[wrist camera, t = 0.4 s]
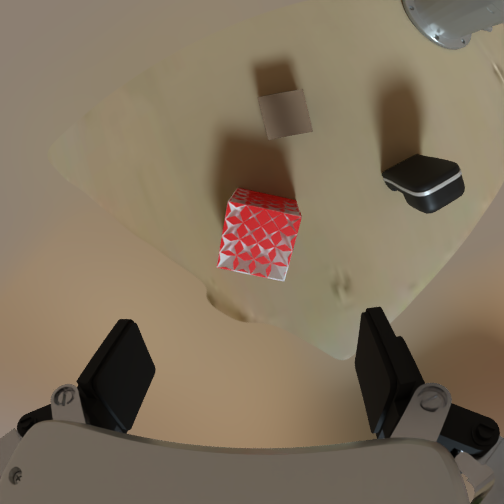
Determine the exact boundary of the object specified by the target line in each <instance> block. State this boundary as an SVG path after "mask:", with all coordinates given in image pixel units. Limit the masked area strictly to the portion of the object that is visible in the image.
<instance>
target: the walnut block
mask: <svg viewBox="0 0 504 504" xmlns="http://www.w3.org/2000/svg"><path fill="white" fill-rule="evenodd" d="M258 101H259V105H260V108H261V112H262V116H263V120H264V125H265V129H266V133H267V137H268V140H271V139H276V138H281V137H286V136H291V135H296V134H302V133H308V132H313V130H312V126H311V121H310V117H309V113H308V109H307V105H306V100H305V97H304V93H303V89H300V90H294V91H288V92H283V93H277V94H272V95H267V96H263V97H258Z"/></svg>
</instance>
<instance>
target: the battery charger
mask: <svg viewBox="0 0 504 504" xmlns="http://www.w3.org/2000/svg"><path fill="white" fill-rule="evenodd" d="M461 174H462V172H461V169H460V168H459V166H458V164H457V163H455V162H452V161H448V160H444V159H439V158H434V157H428V156H423V155H419V154H416V155H414V156H412V157H410V158H408V159H406V160H404V161H403V162H401V163H399V164H397V165H395V166H393V167H391V168H389V169H388V170H386V171H384V172H383V173H382V176H383V180H384V181H385V183H386V185H387V186H388V187H389V188H390V189H391V190H393V191H397V190H398V191H400V192H401V193H403V194H404V197H405V199H406V201H407V203H408V204H409V205H410V206H412V207H413V208H415V209H417V210H419V211H421V212H424V213H433V212H435V211H437V210H439V209H441V208H443V207H444V206H446V205H448V204H449V203H451V202H452V201H454V200H456V199H457V198H459V197H460V196H462V194H463V193H464V189H465V186H464V182H463V178H462V175H461Z"/></svg>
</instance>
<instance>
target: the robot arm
mask: <svg viewBox="0 0 504 504" xmlns="http://www.w3.org/2000/svg"><path fill="white" fill-rule="evenodd" d="M402 1H403V6H404V8H405V11H406V13H407V15H408V17H409V18H410V20H411V21H412V22H413V24H414V25H415V26H416V27H417V29H418V30H419V31H420V32H421V33H422V34H423V35H424V36H426V37H427V38H428V39H430V40H431V41H432V42H434V43H436V44H437V45H439V46H441V47H444V48H447V49H460V48H463V47H465V46H466V45H467V44H468V43H469V41H470V39H471V34H472V33H474V32H477V31H480V30H485V31H488V32H491V31H492V26H495V25H498V24H501V23H504V0H402ZM355 369H356V372H357V376H358V380H359V384H360V388H361V391H362V396H363V400H364V403H365V408H366V412H367V416H368V420H369V425H370V429H371V432H372V433H376V436H377V439H373V440H366V441H358V442H350V443H342V444H334V445H324V446H311V447H296V448H272V449H271V448H270V449H266V448H265V449H264V448H263V449H262V448H261V449H258V448H257V449H256V448H253V449H252V448H225V447H211V446H200V445H191V444H182V443H175V442H168V441H162V440H155V439H150V438H144V437H139V436H134V435H129V434H127V431H128V430H130V429H131V428H132V426H133V423H134V421H135V418H136V416H137V414H138V411H139V409H140V407H141V404H142V402H143V399H144V397H145V395H146V393H147V390H148V388H149V386H150V383H151V381H152V379H153V377H154V374H155V366H154V363H153V361H152V359H151V357H150V354H149V352H148V350H147V347H146V345H145V343H144V340H143V338H142V335H141V333H140V330H139V328H138V326H137V324H136V323H134V321H133V320H131V319H120V320H118V322H117V323H116V324H115V326H114V327H113V329H112V330H111V331H110V333H109V334H108V336H107V337H106V339H105V340H104V341H103V343H102V344H101V346H100V347H99V348H98V350H97V351H96V353H95V354H94V356H93V357H92V359H91V360H90V362H89V363H88V365H87V366H86V368H85V369H84V371H83V372H82V374H81V375H80V377H79V378H78V380H77V383H78V387H75V386H74V385H72V384H65V385H62V386H60V387H58V388H57V389H56V390H55V391H54V392H53V394H52V396H51V404H49V405H47V406H45V407H42V408H40V409H37V410H35V411H32V412H30V413H28V414H26V415H24V416H23V417H21V419H20V420H19V422H18V425H17V430H16V429H15V428H14V429H13V430H11V431H10V432H9V433H7V434H6V435H5V436H3V437H2V438H1V439H0V504H504V438H502V437H501V436H500V432H499V427H498V425H497V423H496V422H495V421H494V420H492V419H491V418H489V417H486V416H483V415H480V414H478V413H475V412H472V411H470V410H468V409H465V408H462V407H460V406H457V405H455V404H452V403H451V400H452V399H451V394H450V393H449V391H448V390H447V389H446V388H445V387H444V386H442V385H440V384H437V383H426V384H425V382H424V380H423V378H422V376H421V374H420V372H419V369H418V367H417V365H416V363H415V361H414V359H413V357H412V355H411V353H410V351H409V349H408V347H407V345H406V343H405V341H404V339H403V338H402V337H401V336H398V337H396V336H395V334H394V332H393V330H392V328H391V326H390V324H389V322H388V320H387V318H386V316H385V314H384V312H383V310H382V308H381V307H374V308H367V309H366V312H363V313H362V314H361V321H360V330H359V337H358V344H357V351H356V358H355ZM461 473H463V474H464V475H466V477H468V479H467V481H468V482H469V483H471V484H472V486H473V487H474V491H475V495H474V499H473V500H472V502H471V503H470V502H469V498H468V494H467V490H466V487H465V484H464V481H463V478H462V475H461Z"/></svg>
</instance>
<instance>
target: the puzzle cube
mask: <svg viewBox="0 0 504 504" xmlns="http://www.w3.org/2000/svg"><path fill="white" fill-rule="evenodd" d="M301 218H302V216H301V213H300V210H299V207H298V204H297V201H296V200H292V199H288V198H283V197H279V196H274V195H270V194H265V193H260V192H255V191H251V190H246V189H241V188H237V189H236V190H235V192H234V193H233V194H232V196H231V197H230V199H229V200H228V204H227V209H226V215H225V221H224V227H223V233H222V239H221V245H220V251H219V257H218V264H217V268H221V269H226V270H231V271H236V272H241V273H245V274H250V275H255V276H260V277H265V278H269V279H274V280H279V281H284V280H285V277H286V273H287V270H288V266H289V263H290V259H291V255H292V252H293V248H294V244H295V241H296V237H297V233H298V229H299V225H300V222H301Z"/></svg>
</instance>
